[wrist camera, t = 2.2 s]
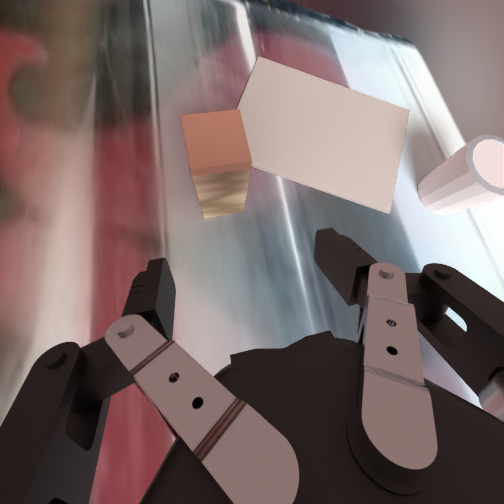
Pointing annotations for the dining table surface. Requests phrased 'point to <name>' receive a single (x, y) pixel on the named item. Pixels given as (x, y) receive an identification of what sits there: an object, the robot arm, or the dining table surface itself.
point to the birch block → (218, 160)
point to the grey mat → (323, 134)
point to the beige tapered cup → (466, 177)
